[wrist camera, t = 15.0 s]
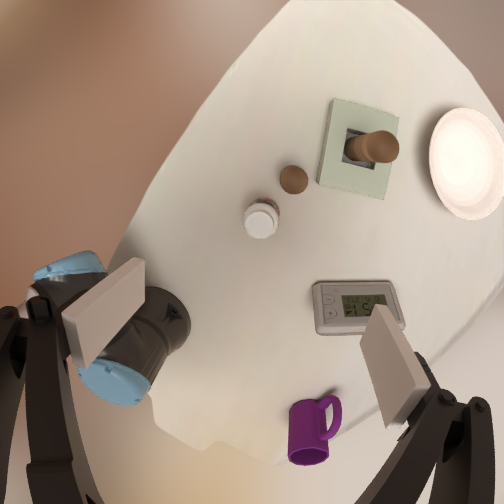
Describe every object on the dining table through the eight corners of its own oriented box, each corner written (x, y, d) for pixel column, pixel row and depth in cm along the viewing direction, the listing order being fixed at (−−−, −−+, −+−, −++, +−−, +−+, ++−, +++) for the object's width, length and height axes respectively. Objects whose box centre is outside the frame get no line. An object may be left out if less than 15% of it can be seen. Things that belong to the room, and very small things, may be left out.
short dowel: (278, 186, 47) (277, 191, 40) (282, 163, 46) (282, 164, 39) (302, 191, 47) (305, 196, 40) (306, 168, 45) (310, 169, 39)
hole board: (316, 182, 46) (318, 184, 42) (330, 103, 41) (334, 98, 38) (376, 196, 45) (383, 200, 42) (390, 120, 41) (399, 117, 37)
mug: (281, 412, 64) (279, 459, 50) (321, 378, 59) (326, 428, 45) (309, 423, 65) (311, 469, 51) (350, 391, 60) (359, 439, 45)
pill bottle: (286, 210, 48) (286, 223, 39) (266, 234, 50) (262, 252, 41) (261, 190, 47) (255, 198, 38) (241, 215, 49) (231, 228, 40)
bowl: (497, 140, 38) (516, 141, 32) (474, 227, 44) (491, 235, 38) (426, 92, 38) (442, 86, 32) (400, 190, 44) (415, 195, 38)
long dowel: (341, 157, 44) (366, 158, 30) (345, 135, 43) (371, 126, 29) (363, 163, 44) (396, 167, 30) (367, 141, 43) (401, 135, 28)
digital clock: (395, 281, 50) (416, 307, 40) (380, 320, 53) (395, 352, 43) (317, 265, 51) (324, 292, 41) (305, 308, 54) (308, 341, 44)
